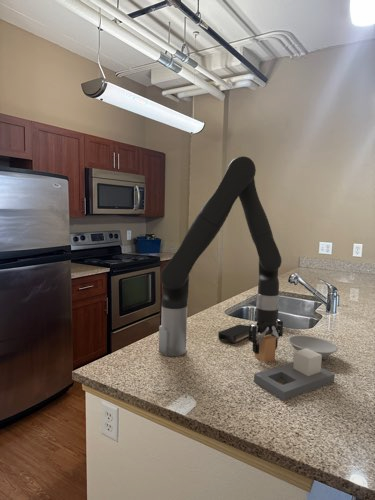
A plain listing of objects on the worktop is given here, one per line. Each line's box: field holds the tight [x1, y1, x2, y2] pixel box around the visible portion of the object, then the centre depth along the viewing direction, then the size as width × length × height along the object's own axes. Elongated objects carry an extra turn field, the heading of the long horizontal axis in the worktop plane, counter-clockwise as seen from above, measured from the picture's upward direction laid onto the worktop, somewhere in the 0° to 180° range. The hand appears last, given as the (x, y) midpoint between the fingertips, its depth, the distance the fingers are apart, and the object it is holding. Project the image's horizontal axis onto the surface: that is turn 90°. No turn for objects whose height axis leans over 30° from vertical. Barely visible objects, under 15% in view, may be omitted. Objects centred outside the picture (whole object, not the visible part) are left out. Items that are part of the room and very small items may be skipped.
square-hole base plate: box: [253, 348, 336, 401], centre depth 104 cm, size 22×12×8 cm, turn 121°
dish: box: [287, 334, 339, 358], centre depth 123 cm, size 18×14×5 cm
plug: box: [254, 333, 277, 363], centre depth 121 cm, size 5×5×8 cm
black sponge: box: [217, 324, 250, 344], centre depth 141 cm, size 16×8×4 cm, turn 137°
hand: (265, 350), depth 121 cm, fingers open, 8 cm apart
